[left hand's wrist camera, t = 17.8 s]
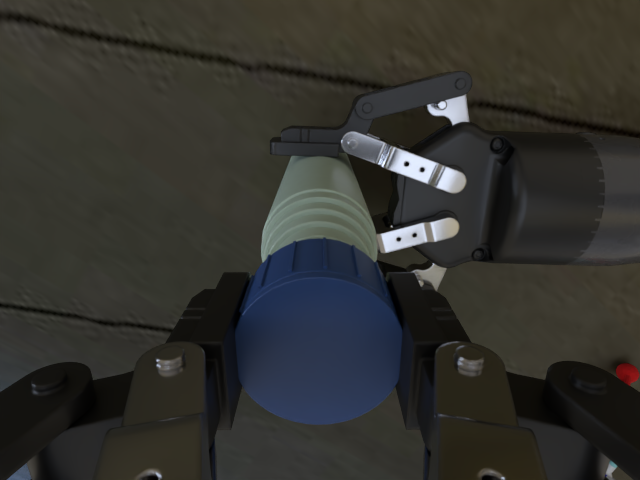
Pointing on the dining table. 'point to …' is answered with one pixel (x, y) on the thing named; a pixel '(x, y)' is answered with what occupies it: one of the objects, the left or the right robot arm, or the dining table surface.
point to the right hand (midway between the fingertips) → (273, 191)
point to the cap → (318, 333)
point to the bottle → (319, 206)
